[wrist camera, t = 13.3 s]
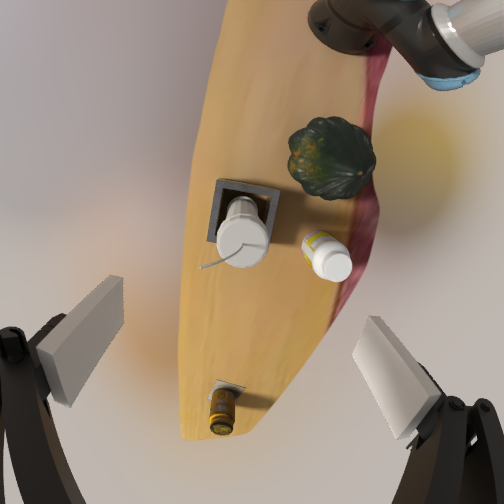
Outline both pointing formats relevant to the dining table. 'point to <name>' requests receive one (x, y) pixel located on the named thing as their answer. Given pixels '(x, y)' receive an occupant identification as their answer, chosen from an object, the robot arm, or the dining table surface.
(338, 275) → the supplement bottle
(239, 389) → the condiment
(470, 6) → the robot arm
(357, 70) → the dining table surface
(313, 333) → the dining table surface
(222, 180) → the collar
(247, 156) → the dining table surface
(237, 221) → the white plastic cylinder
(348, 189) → the squash
